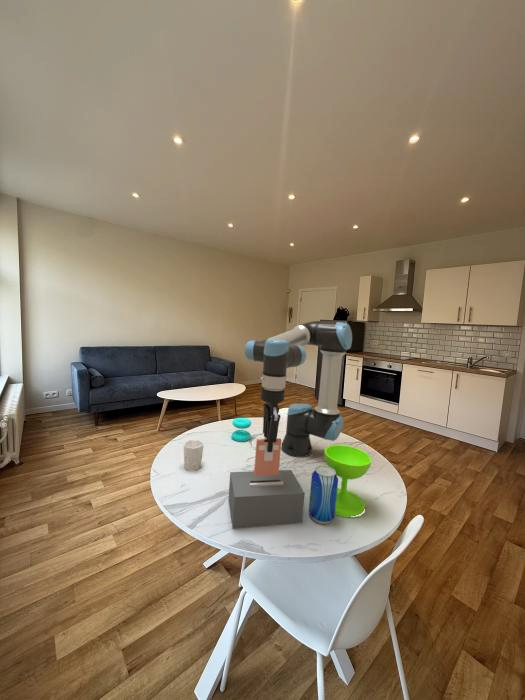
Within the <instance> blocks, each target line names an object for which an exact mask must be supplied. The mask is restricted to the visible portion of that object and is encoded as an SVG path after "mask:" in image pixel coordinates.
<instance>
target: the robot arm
mask: <svg viewBox="0 0 525 700" xmlns="http://www.w3.org/2000/svg"><path fill="white" fill-rule="evenodd" d="M352 343H353V332H352V329H351V326H350V324H349V323H346V322H341V321H326V320H325V321H321V320H313V321H307V322H303V323H301V324H298V325H296V326H294V327H293V328H292V329H291V330H288V331H286V332H285V331H284V332H282V333H279V334H278V335H274V336H272V337H269V338H266V339H262V340H249V341H248V342H247V343H246V344H245V346H244V357H246V359H247V360H249V361H252V362H259V363H262V365H263V366H262V377H260V378H259V379H260V381H261V387H262V388H261V389H260V400H262V401H263V402H265V403H263V405H262V406H263V418H262V419H263V420H262V421H263V422H262V434H263V439H265V440H264V442H265V452H264V461H273V449H274V442H276V441H277V439H278V433H279V424H280V420H281V414H279V413H280V407H279V403H280V404H281V403H282V402H284V401H285V394H286V393H285V392H286V391H285V388H286V384H287V369H288V368H296V367H299V366H301V365H302V364H304V362H305V361H306V359H307V352H306V349H305V348H303V346H307V345H309V346H317V347H319V351H320V353H321V354H322V362H321V372H320V379H319V380H320V381H319V390H318V391H319V393H318V402H317V403H318V404H317V405H316V406H315V407H314V408H313V405H311V404H309V403H292V404H290V405H289V406H288V410H287V413H286V415H287V417H286V418H287V419H286V431H285V434H284V437H283V440H282V441H281V451H282V452H283V453H284V454H286V455H289V456H292V457H295V456H306V455H309V454H310V453H311V452H313V451H312V450H313V447H312V441H311V438H310V435H311V436H314V437H318V438H321V439H323V440H327V441H331V442H334V441H336V440H337V439H338V438H339V436H340V434H341V432H342V430H343V427H344V423H345V422H344V417H343V416H342V415H340V414H341V411H340V409H339V408H338V403H339V402H338V400H339V392H340V391H339V390H340V383H341V382H340V381H341V374H342V373H341V371H342V360H343V356H344V355H345V354H346V353H347V350H350V349H351V348H352ZM311 454H312V453H311ZM311 454H310V455H311ZM310 455H309V456H310ZM306 457H307V456H306Z"/></svg>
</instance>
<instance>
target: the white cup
mask: <svg viewBox="0 0 525 700" xmlns="http://www.w3.org/2000/svg"><path fill="white" fill-rule="evenodd" d="M203 452H204V442H203V441H201V440H198V439H190V440H187V441H185V442H184V443H183V462H184V465H183V467H184V470H186V471H188V472H193V471H197V470H200V469H201V467H202V461H203V460H202V459H203V454H204V453H203Z"/></svg>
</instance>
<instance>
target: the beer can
mask: <svg viewBox="0 0 525 700" xmlns="http://www.w3.org/2000/svg"><path fill="white" fill-rule="evenodd" d="M314 469H315V470H314V471H312V473H311V479H310V490H309V500H308V501H309V503H308V514H309V516H310V518H311V519H312V520H313V521H314V522H316V523H317V524H321V525H328V524H330V523H332V521H333V520H335V516H336V514H335V507H336V497H337V488H338V486H339V478H338V477H339V476H337V475H336V471H335V470H334V469H333V468H331V467H329V466H328V465H317V466H316V467H315V468H314Z"/></svg>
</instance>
